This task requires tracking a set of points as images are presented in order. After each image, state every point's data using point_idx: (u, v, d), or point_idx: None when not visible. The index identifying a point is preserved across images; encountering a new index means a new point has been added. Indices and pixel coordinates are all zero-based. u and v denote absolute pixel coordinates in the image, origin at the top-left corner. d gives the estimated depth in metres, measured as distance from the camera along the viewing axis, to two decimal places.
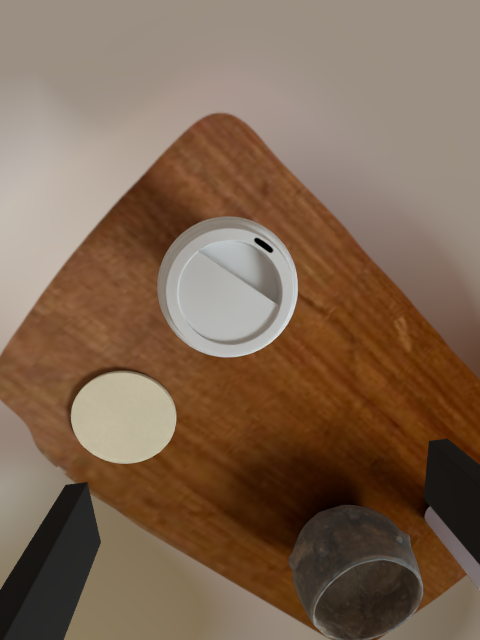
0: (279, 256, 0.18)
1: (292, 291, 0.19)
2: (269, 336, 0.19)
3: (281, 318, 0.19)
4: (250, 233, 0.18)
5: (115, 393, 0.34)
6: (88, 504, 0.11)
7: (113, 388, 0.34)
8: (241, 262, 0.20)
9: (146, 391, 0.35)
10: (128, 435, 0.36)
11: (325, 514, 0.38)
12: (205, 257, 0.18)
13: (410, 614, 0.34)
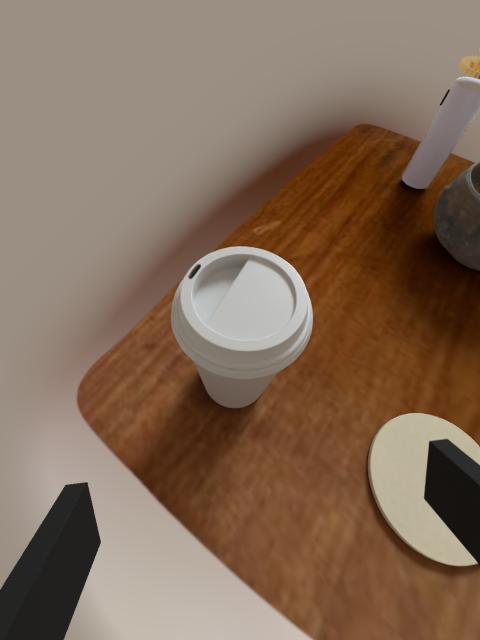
0: (204, 259, 0.20)
1: (234, 247, 0.20)
2: (280, 260, 0.20)
3: (260, 252, 0.20)
4: (184, 281, 0.19)
5: (404, 495, 0.26)
6: (87, 504, 0.11)
7: (398, 498, 0.26)
8: (213, 298, 0.20)
9: (389, 452, 0.28)
10: None
11: (455, 251, 0.38)
12: (210, 319, 0.18)
13: None
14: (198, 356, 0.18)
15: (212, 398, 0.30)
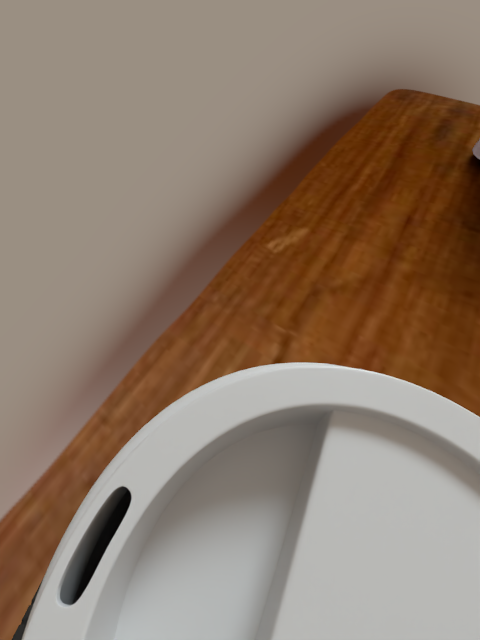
0: (146, 452, 0.05)
1: (271, 373, 0.05)
2: (468, 424, 0.05)
3: (380, 391, 0.05)
4: None
5: None
6: None
7: None
8: (200, 611, 0.05)
9: None
10: None
11: None
12: None
13: None
14: None
15: None
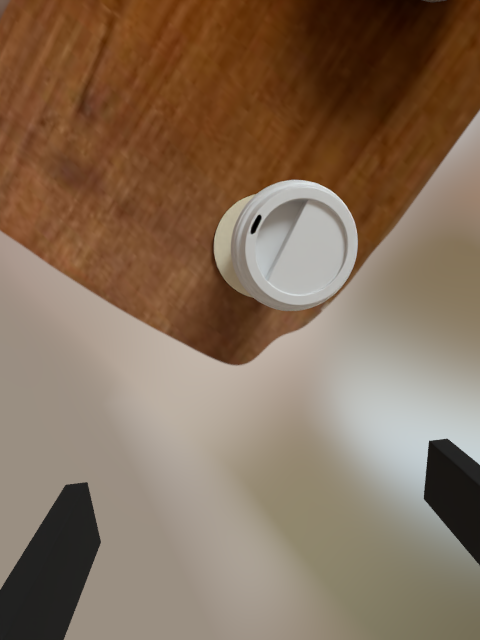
0: (264, 207, 0.20)
1: (294, 188, 0.20)
2: (338, 205, 0.20)
3: (320, 195, 0.20)
4: (247, 238, 0.20)
5: None
6: (87, 504, 0.11)
7: None
8: (270, 241, 0.22)
9: (232, 227, 0.34)
10: None
11: None
12: (271, 274, 0.21)
13: None
14: (260, 299, 0.23)
15: None
